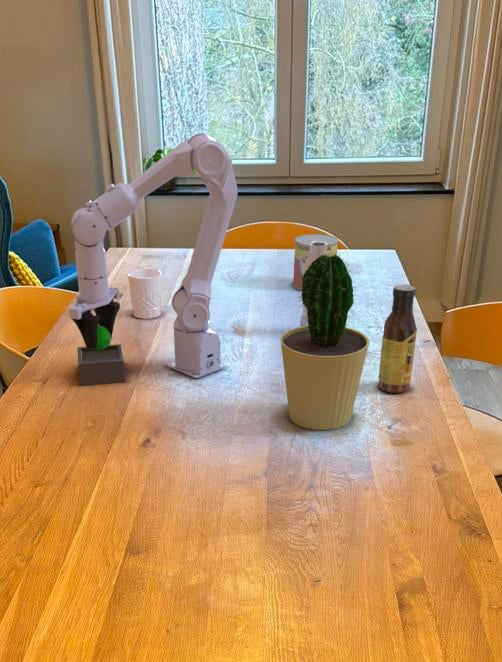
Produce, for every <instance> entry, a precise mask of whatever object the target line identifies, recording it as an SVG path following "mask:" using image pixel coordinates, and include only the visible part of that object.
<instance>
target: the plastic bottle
mask: <svg viewBox="0 0 502 662" xmlns="http://www.w3.org/2000/svg"><path fill="white" fill-rule="evenodd" d="M309 252H310V253H311V255H310V256H309V258H308V259H307V260H306V262H305V263H304V266H303V269H304V270H305V269H306V270H307V269H308V267H309V266H310V264H311V263H312V260H313V261H315V260H316V259H317V258H319V256H320V255H321V256H322V255H325V254H326V253H327V244H326V243H324V242H313V243H311V244H310V251H309ZM314 257H315V259H314ZM309 262H310V263H309ZM308 265H309V266H308ZM304 270H303V273H305V271H306V270H305V271H304ZM303 275H304V274H303ZM304 310H305V311H304ZM306 310H307V309H306V307H305V305H303V306H302V310H301V311H302V312H301V314H300V319H299V324H300V327H302V326H308V320H307V319H308V316H307V311H306ZM305 312H306V313H305ZM304 314H305V315H304ZM304 317H306V318H304ZM303 322H304V323H303Z"/></svg>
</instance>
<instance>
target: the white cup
mask: <svg viewBox="0 0 502 662" xmlns="http://www.w3.org/2000/svg"><path fill="white" fill-rule="evenodd" d="M127 276H128V285H129V294H130V300H131V306H132V314H133V316H134V317H135V318H137V319H141V320H149V319H157V318H158V317H160V316H161V315H162V291H163V289H162V284H163V283H162V271H160V270H158V269H154V268H138V269H134V270H131V271H129V272H128V274H127Z"/></svg>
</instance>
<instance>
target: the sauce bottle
mask: <svg viewBox="0 0 502 662" xmlns="http://www.w3.org/2000/svg"><path fill="white" fill-rule="evenodd" d="M416 289H417V288H416V287H415V286H413V285H411V284H409V285H408V284H397V285H395V286H393V288H392V297H393V298H392V306H391V312H390V313H389V315H388V316H387V317H386V319H385V321H384V324H383V335H382V340H381V350H380V360H379V370H378V387H379V389H381V390H382V391H383V392H386V393H392V394H400V393H404V392H406V391H408V390H409V388H410V385H411V380H412V373H413V365H414V359H415V358H414V356H415V349H416V341H417V331H418V328H417V325H416V320H415V315H414V311H413V310H414V308H413V307H414V297H415V296H416Z"/></svg>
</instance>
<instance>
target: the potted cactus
mask: <svg viewBox="0 0 502 662" xmlns="http://www.w3.org/2000/svg"><path fill="white" fill-rule="evenodd" d="M341 255H342V254H341V251H339V253H338V254H337V255H336V254H335V255H333V256H330V255H329V256H330V257H329V256H327V255H322V256H321V255H320V256H319V258H317V259H316V260H315V261H313V260H312V263H311V264H310V266H309V265H308V266H309V267H308V269H307V270H306V269H305V270H306V271H305V270H304V269H303V268H302V269H303V270H304V271H305V273H303V274H304V275H303V283H302V290H300V289H299V290H298V291H297V292H296V293H298V294H300V295H299V297H298V296H297V299H298V300H296V303H297V302H301V303H302V304H301V305H300V306H299V308H302V307H303V305H305V307H306V309H307V310H306V311H307V316H308V319H307V320H308V326H302V327H301V326H297V327H294V328H291V329H289V330H286V331H285V332H284V333H283V334H281V337H280V347H281V356H282V365H283V374H284V382H285V389H286V390H285V391H286V398H287V399H286V401H287V408H288V409H287V410H288V416H289V419H290V420H291V422H292V423H294V424H295V425H297V426H298V427H301V428H305V429H308V430H313V431H330V430H331V431H332V430H336V429H340V428H342V427H345V426H346V425H347V424H349V422H350V420H351V418H352V415H353V411H354V406H355V403H356V398H357V394H358V391H359V390H358V389H359V385H360V382H361V377H362V375H363V370H364V365H365V362H366V359H367V358H366V357H367V354H368V348H369V346H370V339H369V337H368V336H367V335H366V334H364V333H363V332H362V331H359V330H357V329H354V328H351V327H347V326H349V324H347V321H348V320H349V319H350V318H351V316H348V314H349V313H353V310H351V308H352V307H353V305H357V303H356V302H357V300H356V299H355V298H354V295H355V294H356V293H357V292H359V290H358V289H356V288H357V286H353V283H354V282H356V281H357V279H355V280H354V281H353V280H352V277H354V274H350V272H352V271H354V269H351V270H348V268H349V265H347V262H348V260H347V259H346V260H345V258H343V257H342V256H341ZM314 259H315V257H314ZM344 260H345V261H344ZM309 263H310V262H309ZM301 274H302V273H301ZM298 282H299V281H298ZM300 286H301V285H300ZM296 287H297V286H296ZM299 288H300V287H299ZM354 289H355V290H354ZM356 290H358V291H356ZM355 291H356V292H355ZM355 301H356V302H355ZM304 311H305V310H304ZM305 313H306V312H305ZM304 315H305V314H304ZM304 318H306V317H304ZM303 323H304V322H303Z"/></svg>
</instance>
